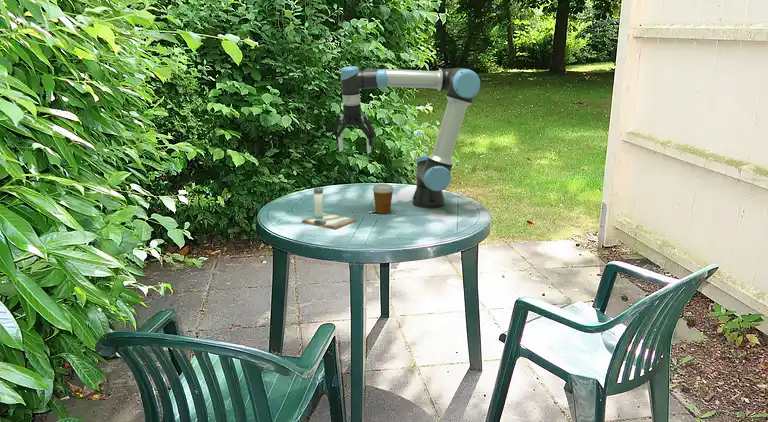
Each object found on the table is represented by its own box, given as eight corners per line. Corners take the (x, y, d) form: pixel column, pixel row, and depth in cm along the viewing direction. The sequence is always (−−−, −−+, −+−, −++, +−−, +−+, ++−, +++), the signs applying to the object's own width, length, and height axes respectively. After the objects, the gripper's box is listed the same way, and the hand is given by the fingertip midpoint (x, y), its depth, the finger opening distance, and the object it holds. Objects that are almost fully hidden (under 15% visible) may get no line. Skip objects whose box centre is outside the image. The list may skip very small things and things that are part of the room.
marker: (325, 217, 269) (324, 188, 265) (319, 219, 265) (319, 190, 262) (318, 216, 271) (317, 187, 267) (312, 218, 267) (312, 189, 264)
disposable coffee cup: (391, 215, 275) (391, 189, 272) (370, 214, 277) (370, 188, 274) (395, 210, 284) (395, 184, 281) (375, 208, 286) (374, 183, 283)
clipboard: (356, 220, 268) (356, 216, 267) (335, 229, 256) (335, 225, 255) (324, 214, 277) (323, 210, 277) (302, 222, 265) (301, 218, 265)
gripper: (321, 104, 266) (326, 152, 274) (375, 106, 257) (377, 156, 265) (329, 101, 273) (333, 147, 281) (382, 102, 263) (384, 151, 271)
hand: (355, 151), depth 273 cm, fingers open, 13 cm apart
